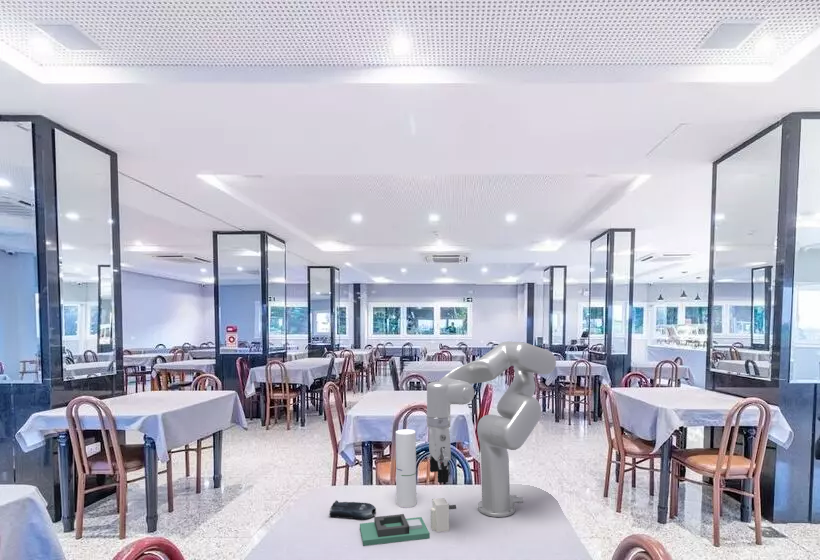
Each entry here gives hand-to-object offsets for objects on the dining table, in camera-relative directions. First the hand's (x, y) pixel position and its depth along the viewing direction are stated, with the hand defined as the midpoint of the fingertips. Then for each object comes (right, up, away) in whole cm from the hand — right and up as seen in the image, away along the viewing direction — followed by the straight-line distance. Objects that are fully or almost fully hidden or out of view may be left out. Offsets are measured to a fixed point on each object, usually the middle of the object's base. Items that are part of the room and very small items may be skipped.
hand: (438, 476), depth 143 cm
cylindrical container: (-10, -18, +18) cm, 27 cm away
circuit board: (-14, -16, -4) cm, 21 cm away
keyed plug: (+1, -16, -1) cm, 16 cm away
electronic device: (-28, -18, +10) cm, 35 cm away
